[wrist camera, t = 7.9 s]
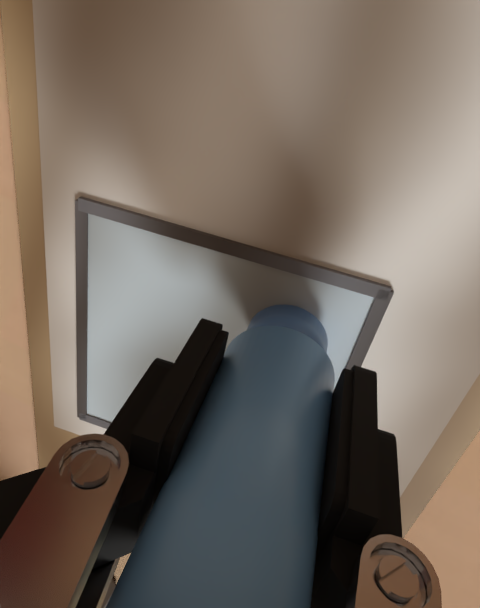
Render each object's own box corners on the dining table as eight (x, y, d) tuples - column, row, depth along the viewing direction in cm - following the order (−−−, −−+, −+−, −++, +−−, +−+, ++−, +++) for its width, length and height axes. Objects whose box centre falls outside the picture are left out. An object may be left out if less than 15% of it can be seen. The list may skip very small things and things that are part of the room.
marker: (355, 312, 12) (321, 891, 4) (322, 393, 14) (250, 921, 6) (246, 280, 13) (4, 752, 4) (228, 363, 14) (26, 819, 6)
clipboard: (844, -121, 8) (894, -139, 7) (350, 600, 22) (349, 619, 21) (-3, -264, 9) (-35, -289, 9) (48, 488, 23) (38, 502, 23)
